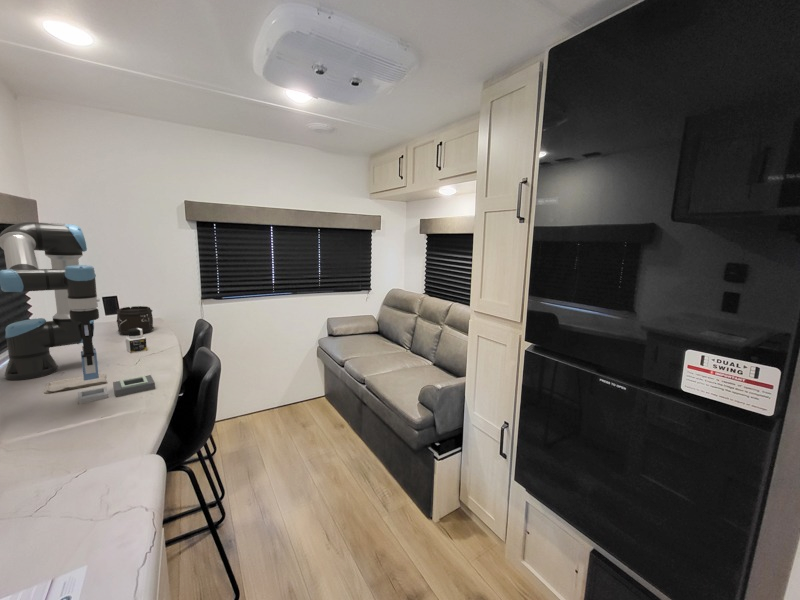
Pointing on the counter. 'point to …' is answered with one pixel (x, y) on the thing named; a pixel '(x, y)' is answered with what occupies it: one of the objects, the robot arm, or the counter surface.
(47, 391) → the washcloth
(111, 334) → the counter surface
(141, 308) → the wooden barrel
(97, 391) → the grey square tray
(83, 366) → the plug
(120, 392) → the port block
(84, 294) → the robot arm
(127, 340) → the medicine bottle
